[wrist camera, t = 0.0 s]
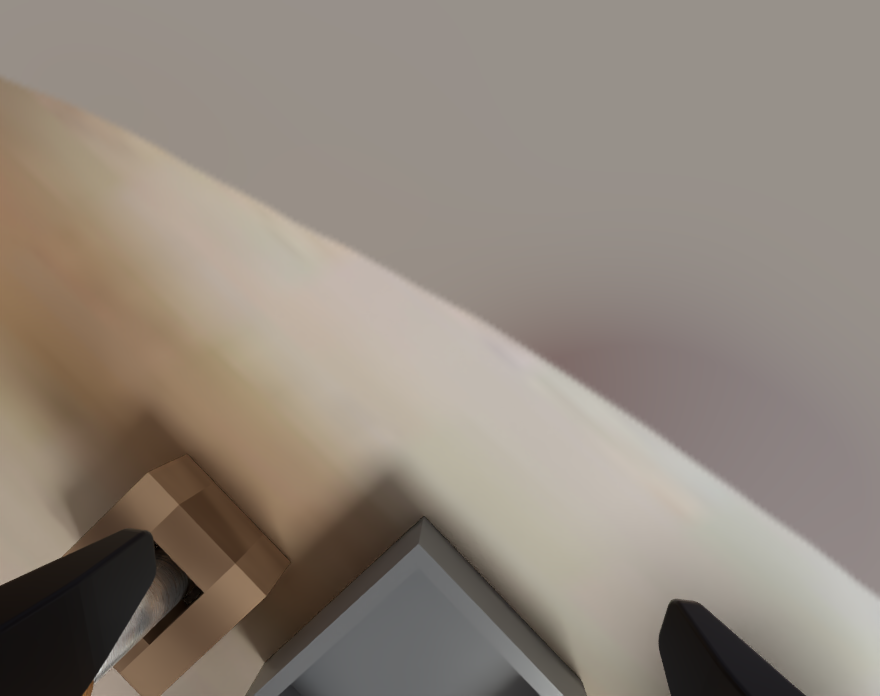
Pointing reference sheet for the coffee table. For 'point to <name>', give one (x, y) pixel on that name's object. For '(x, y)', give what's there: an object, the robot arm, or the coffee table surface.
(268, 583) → the block
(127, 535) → the robot arm
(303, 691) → the tray
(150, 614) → the lock pin
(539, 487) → the coffee table surface
